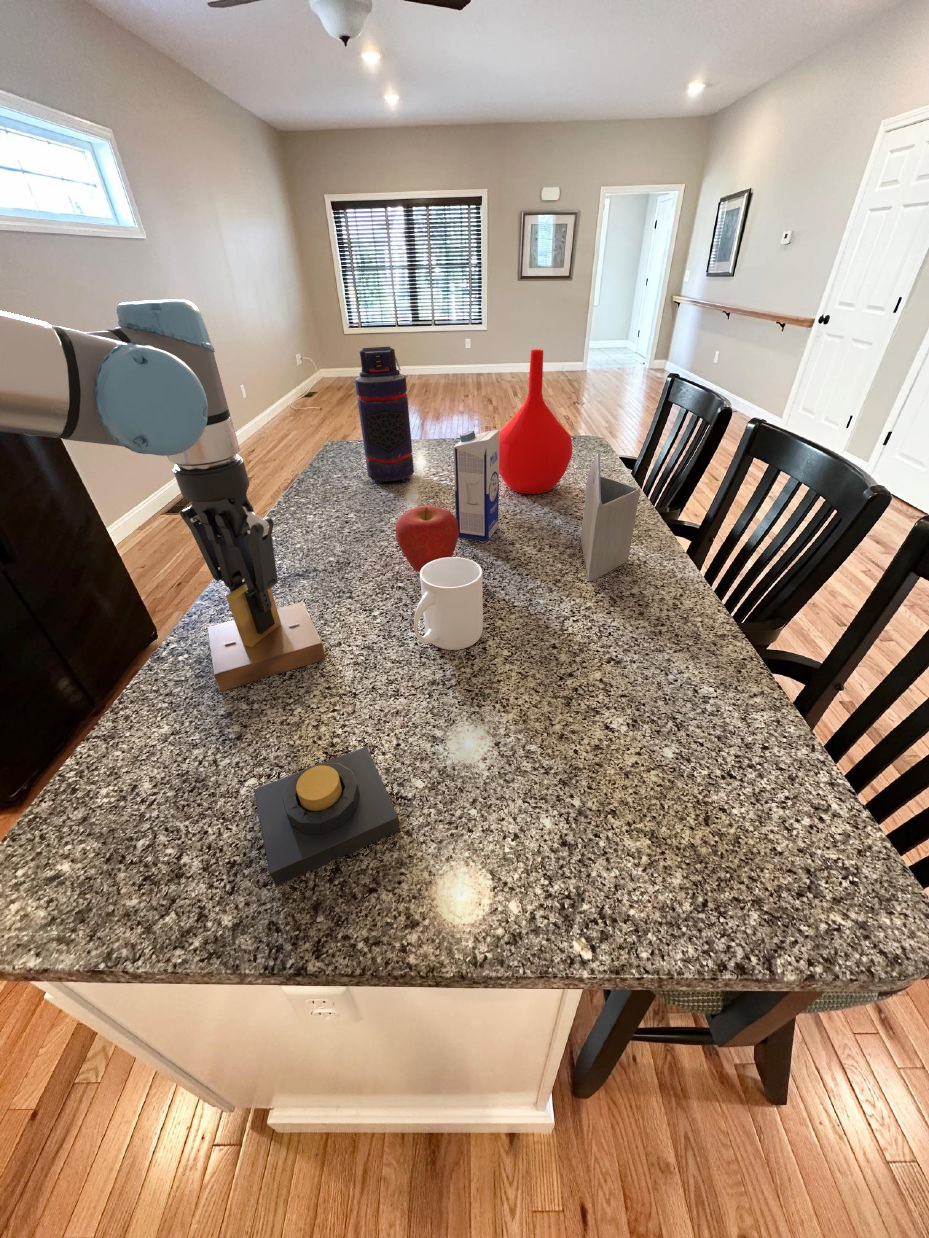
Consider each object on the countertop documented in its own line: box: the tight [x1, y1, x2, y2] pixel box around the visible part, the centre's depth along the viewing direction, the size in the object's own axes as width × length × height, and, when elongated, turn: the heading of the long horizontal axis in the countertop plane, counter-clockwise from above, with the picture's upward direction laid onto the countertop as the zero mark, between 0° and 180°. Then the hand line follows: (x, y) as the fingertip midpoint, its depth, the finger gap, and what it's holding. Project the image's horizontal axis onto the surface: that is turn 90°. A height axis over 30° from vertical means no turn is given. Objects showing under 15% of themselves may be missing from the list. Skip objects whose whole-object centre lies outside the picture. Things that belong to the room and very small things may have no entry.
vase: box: [499, 348, 573, 495], centre depth 117 cm, size 18×18×30 cm
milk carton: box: [452, 429, 500, 542], centre depth 99 cm, size 7×7×20 cm
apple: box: [394, 505, 459, 573], centre depth 89 cm, size 11×11×12 cm
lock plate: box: [206, 601, 326, 692], centre depth 74 cm, size 14×12×3 cm
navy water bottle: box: [354, 346, 415, 485], centre depth 126 cm, size 14×12×30 cm
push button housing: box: [253, 746, 401, 887], centre depth 51 cm, size 12×10×4 cm
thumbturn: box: [225, 583, 281, 647], centre depth 70 cm, size 6×2×8 cm, turn 155°
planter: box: [579, 452, 641, 582], centre depth 89 cm, size 16×8×19 cm, turn 174°
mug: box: [413, 556, 484, 651], centre depth 72 cm, size 9×12×11 cm
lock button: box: [296, 766, 342, 811], centre depth 49 cm, size 4×4×2 cm
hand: (259, 626), depth 72 cm, fingers closed on thumbturn, 2 cm apart
